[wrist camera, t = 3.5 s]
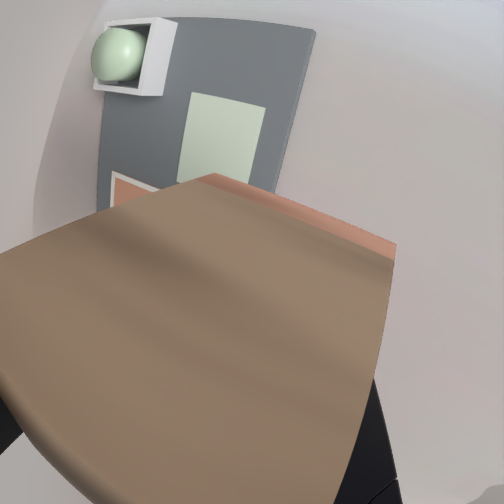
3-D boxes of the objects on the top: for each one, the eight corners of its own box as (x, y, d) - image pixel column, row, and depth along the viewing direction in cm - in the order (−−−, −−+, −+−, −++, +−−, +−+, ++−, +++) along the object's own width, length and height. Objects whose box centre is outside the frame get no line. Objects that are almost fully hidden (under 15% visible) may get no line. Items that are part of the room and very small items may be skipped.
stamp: (324, 380, 10) (213, 579, 4) (191, 312, 11) (34, 447, 5) (396, 244, 7) (295, 580, 1) (215, 172, 9) (-53, 281, 3)
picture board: (231, 350, 25) (215, 369, 23) (102, 271, 30) (83, 282, 27) (316, 32, 14) (301, 18, 12) (124, 21, 18) (99, 17, 16)
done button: (143, 82, 18) (120, 82, 16) (109, 79, 19) (87, 79, 17) (154, 30, 16) (131, 26, 14) (118, 32, 17) (96, 29, 15)
